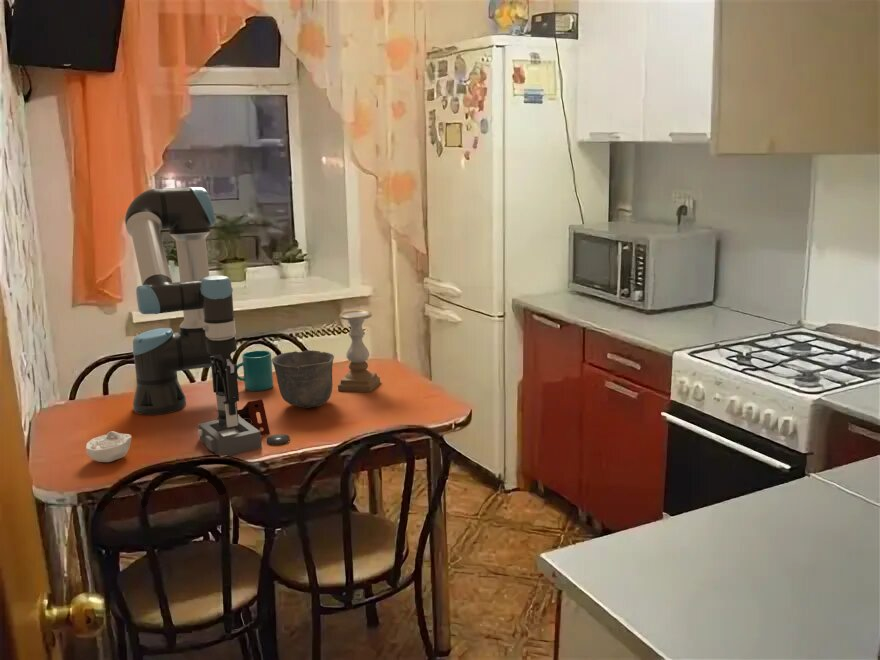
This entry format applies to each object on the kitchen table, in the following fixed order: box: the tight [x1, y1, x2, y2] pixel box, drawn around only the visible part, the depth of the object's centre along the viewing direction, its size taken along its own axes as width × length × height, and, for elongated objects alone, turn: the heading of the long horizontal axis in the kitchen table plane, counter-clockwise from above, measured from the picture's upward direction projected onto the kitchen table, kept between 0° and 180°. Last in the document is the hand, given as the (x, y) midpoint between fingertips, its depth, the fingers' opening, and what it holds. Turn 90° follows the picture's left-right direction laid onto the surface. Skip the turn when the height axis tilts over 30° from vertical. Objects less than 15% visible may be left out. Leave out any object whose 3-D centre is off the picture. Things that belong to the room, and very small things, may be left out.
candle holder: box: [337, 310, 381, 393], centre depth 264 cm, size 11×11×24 cm
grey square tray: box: [197, 415, 263, 457], centre depth 219 cm, size 16×12×4 cm
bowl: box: [271, 349, 335, 409], centre depth 247 cm, size 18×18×15 cm
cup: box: [236, 350, 274, 392], centre depth 266 cm, size 9×12×11 cm
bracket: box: [216, 399, 271, 436], centre depth 231 cm, size 10×14×10 cm
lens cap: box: [266, 433, 291, 446], centre depth 221 cm, size 6×6×1 cm
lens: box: [215, 390, 239, 428], centre depth 218 cm, size 5×5×9 cm
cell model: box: [85, 430, 132, 463], centre depth 211 cm, size 10×12×7 cm
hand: (228, 422), depth 218 cm, fingers closed on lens, 5 cm apart
